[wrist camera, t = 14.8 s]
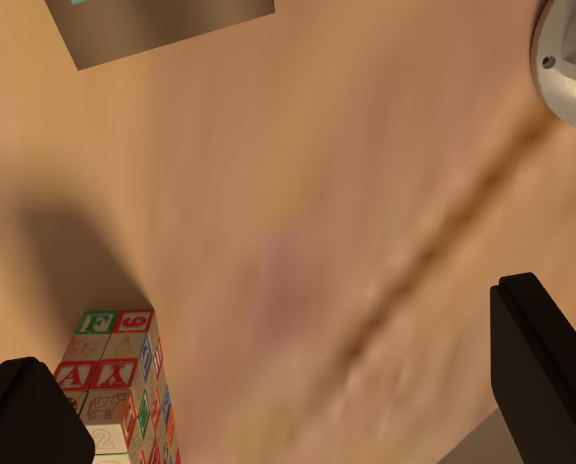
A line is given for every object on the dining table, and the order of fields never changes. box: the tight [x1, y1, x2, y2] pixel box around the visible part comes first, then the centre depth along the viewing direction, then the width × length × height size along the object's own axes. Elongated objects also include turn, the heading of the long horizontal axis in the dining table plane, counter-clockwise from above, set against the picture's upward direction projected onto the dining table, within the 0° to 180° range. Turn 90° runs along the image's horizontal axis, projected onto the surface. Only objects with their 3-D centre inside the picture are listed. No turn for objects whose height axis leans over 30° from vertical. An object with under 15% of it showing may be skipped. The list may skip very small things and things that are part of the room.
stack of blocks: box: [53, 310, 181, 464], centre depth 44 cm, size 21×6×12 cm, turn 0°
